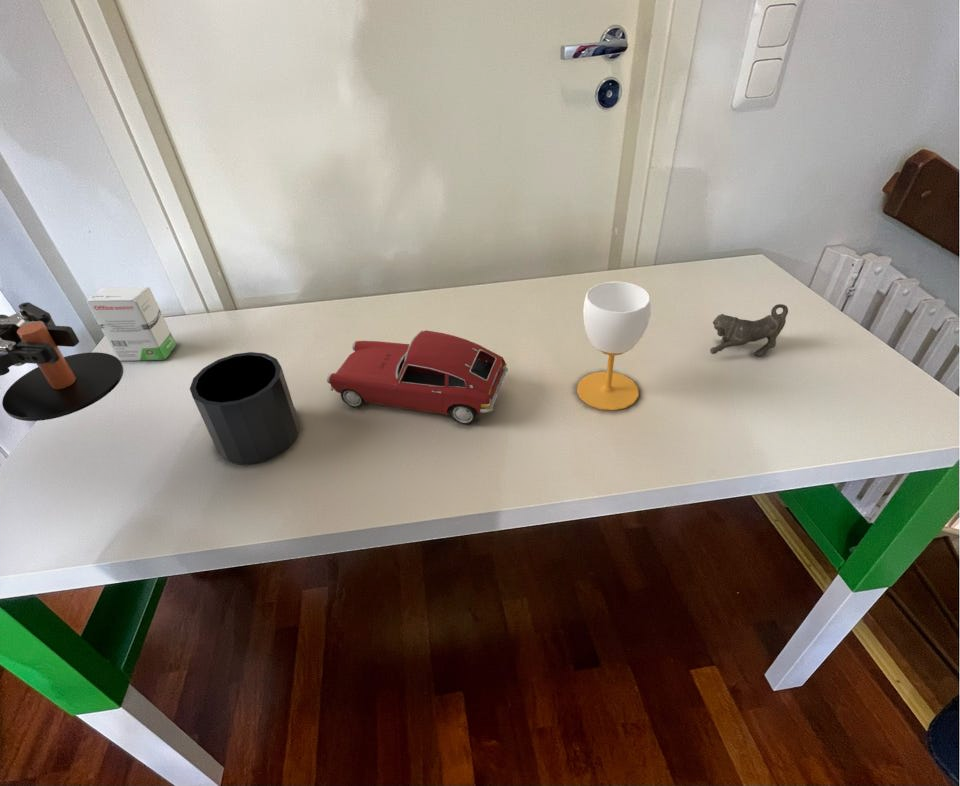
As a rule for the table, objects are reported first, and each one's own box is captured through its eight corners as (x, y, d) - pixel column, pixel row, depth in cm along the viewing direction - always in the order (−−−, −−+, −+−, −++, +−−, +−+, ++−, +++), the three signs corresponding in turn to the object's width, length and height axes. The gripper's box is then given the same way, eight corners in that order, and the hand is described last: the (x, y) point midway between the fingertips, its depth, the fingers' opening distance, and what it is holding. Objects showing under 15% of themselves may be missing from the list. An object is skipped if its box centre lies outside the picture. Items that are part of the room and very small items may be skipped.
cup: (573, 374, 92) (578, 281, 82) (631, 371, 92) (644, 278, 82) (581, 412, 85) (588, 316, 75) (645, 409, 85) (661, 312, 75)
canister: (209, 470, 80) (181, 411, 73) (224, 415, 88) (200, 358, 82) (296, 458, 81) (275, 398, 74) (302, 405, 89) (284, 347, 83)
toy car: (359, 363, 97) (348, 310, 91) (510, 383, 91) (509, 328, 85) (329, 406, 89) (314, 351, 83) (492, 431, 83) (489, 374, 77)
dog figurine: (767, 334, 98) (780, 294, 93) (785, 354, 93) (798, 313, 89) (696, 341, 97) (705, 301, 93) (710, 361, 93) (720, 321, 88)
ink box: (178, 344, 104) (151, 284, 97) (164, 361, 100) (136, 300, 93) (131, 344, 105) (101, 285, 97) (116, 361, 101) (83, 300, 93)
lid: (-14, 432, 64) (-63, 368, 59) (34, 366, 74) (-4, 306, 68) (106, 416, 65) (69, 352, 60) (138, 353, 75) (108, 293, 70)
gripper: (-153, 345, 60) (-5, 353, 57) (-40, 279, 71) (90, 283, 68) (-104, 402, 65) (35, 412, 62) (-5, 332, 75) (118, 338, 73)
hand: (63, 344), depth 65 cm, fingers closed on lid, 2 cm apart
